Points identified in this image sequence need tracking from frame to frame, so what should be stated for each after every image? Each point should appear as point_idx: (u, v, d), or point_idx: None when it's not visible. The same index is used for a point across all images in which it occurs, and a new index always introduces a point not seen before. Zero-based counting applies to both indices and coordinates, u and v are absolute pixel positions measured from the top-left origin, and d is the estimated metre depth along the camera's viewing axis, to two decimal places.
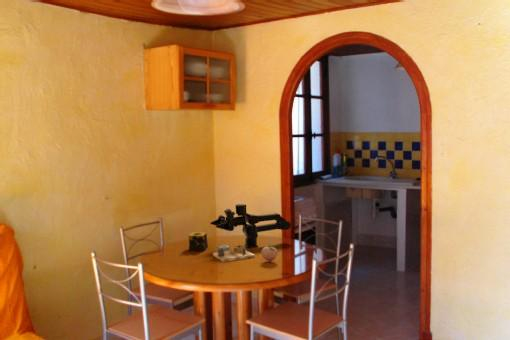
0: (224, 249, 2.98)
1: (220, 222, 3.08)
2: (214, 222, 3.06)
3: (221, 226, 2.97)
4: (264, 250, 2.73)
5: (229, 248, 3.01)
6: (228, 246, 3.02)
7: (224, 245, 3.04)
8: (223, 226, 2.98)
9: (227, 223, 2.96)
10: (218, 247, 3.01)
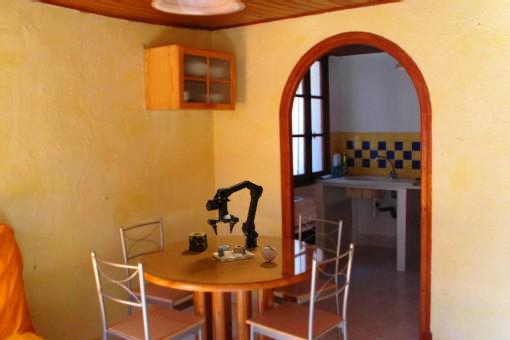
0: (224, 249, 2.98)
1: None
2: None
3: None
4: (264, 250, 2.73)
5: (229, 248, 3.01)
6: (228, 246, 3.02)
7: (224, 245, 3.04)
8: None
9: None
10: (218, 247, 3.01)
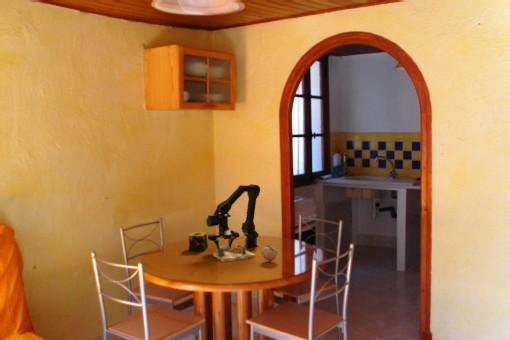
0: (224, 249, 2.98)
1: None
2: None
3: None
4: (264, 250, 2.73)
5: (229, 248, 3.01)
6: (228, 246, 3.02)
7: (224, 245, 3.04)
8: None
9: (234, 238, 3.02)
10: None
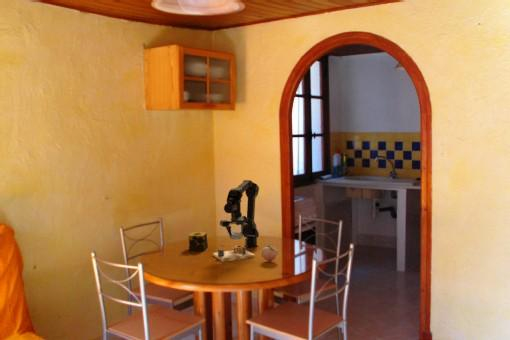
0: (236, 236, 2.88)
1: None
2: None
3: None
4: (264, 250, 2.73)
5: None
6: (241, 233, 2.91)
7: (236, 232, 2.94)
8: None
9: (247, 225, 2.92)
10: None
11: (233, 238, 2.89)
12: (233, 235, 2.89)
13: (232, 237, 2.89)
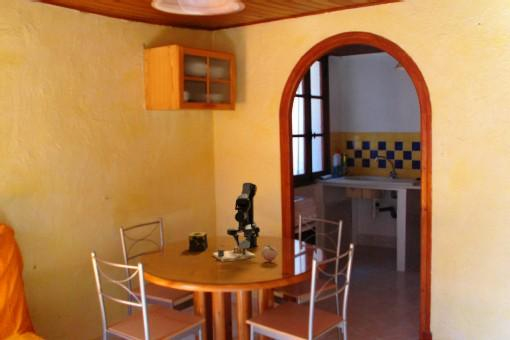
0: (244, 244, 2.84)
1: None
2: None
3: None
4: (264, 250, 2.73)
5: (249, 243, 2.87)
6: (248, 241, 2.88)
7: (244, 240, 2.91)
8: None
9: (255, 233, 2.88)
10: None
11: (241, 247, 2.85)
12: (241, 244, 2.85)
13: (240, 246, 2.85)
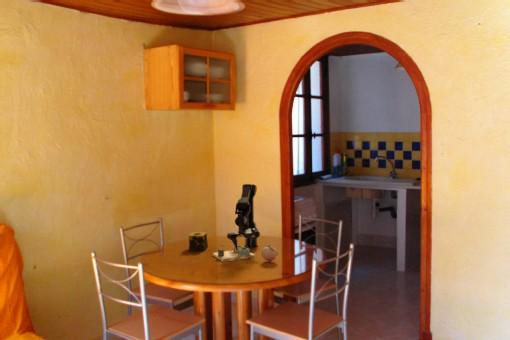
0: (244, 252, 2.85)
1: None
2: None
3: None
4: (264, 250, 2.73)
5: (249, 251, 2.88)
6: (248, 248, 2.88)
7: None
8: None
9: (256, 237, 2.89)
10: (238, 250, 2.87)
11: (241, 254, 2.86)
12: (241, 251, 2.86)
13: (240, 253, 2.85)
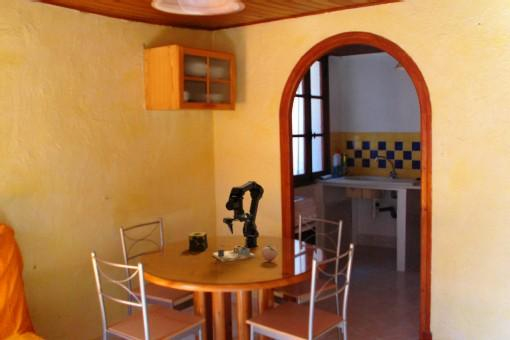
0: (244, 252, 2.85)
1: None
2: None
3: None
4: (264, 250, 2.73)
5: (249, 251, 2.88)
6: (248, 248, 2.88)
7: None
8: None
9: (251, 221, 3.00)
10: (238, 250, 2.87)
11: (241, 254, 2.86)
12: (241, 251, 2.86)
13: (240, 253, 2.85)
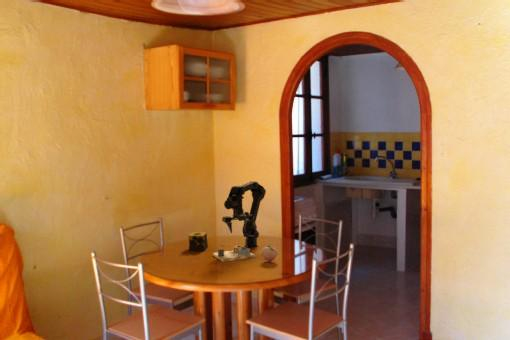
0: (244, 252, 2.85)
1: None
2: None
3: None
4: (264, 250, 2.73)
5: (249, 251, 2.88)
6: (248, 248, 2.88)
7: None
8: None
9: (250, 220, 3.01)
10: (238, 250, 2.87)
11: (241, 254, 2.86)
12: (241, 251, 2.86)
13: (240, 253, 2.85)
